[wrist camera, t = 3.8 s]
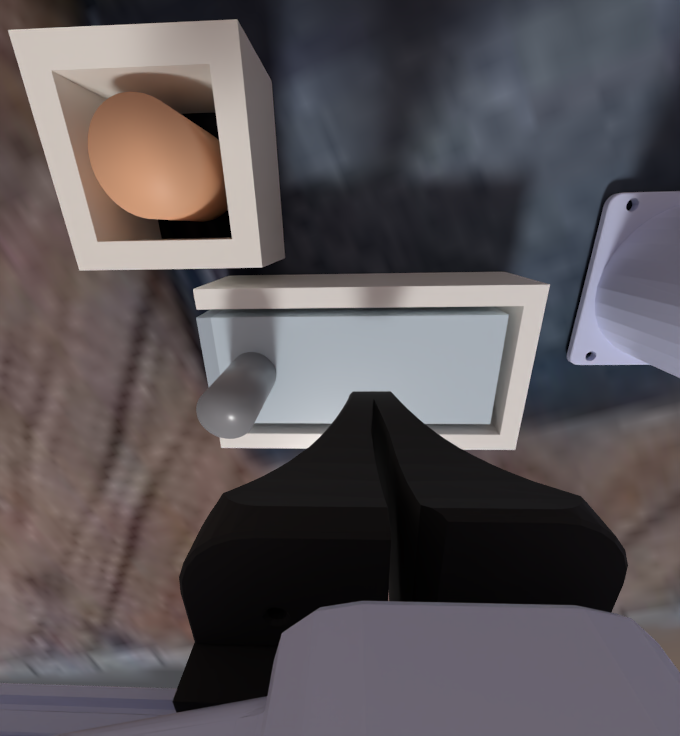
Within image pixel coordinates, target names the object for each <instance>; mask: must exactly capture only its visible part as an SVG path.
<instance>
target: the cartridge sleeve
mask: <svg viewBox="0 0 680 736" xmlns="http://www.w3.org/2000/svg"><path fill="white" fill-rule="evenodd" d="M549 286H550V284H546V283H543V282H539V281H536V280H532V279H529V278H525V277H521V276H518V275H514V274H511V273H507V272H441V273H372V274H304V275H235V276H227V277H224V278H222V279H219V280H216V281H214V282H211V283H208V284H206V285H203V286H200V287H197V288H195V289H193V292H194V298H195V303H196V309H290V308H386V307H482V306H494V307H496V308H497V309H499V310H501V311H503V312H505V313H506V314H508V315H509V317H508V323H507V329H506V335H505V341H504V347H503V352H502V358H501V364H500V370H499V376H498V382H497V387H496V393H495V399H494V405H493V411H492V417H491V422H490V424H426V425H427V426H428V427H429V428H431V429H432V430H433V431H435V432H436V433H437V434H439V435H440V436H442V437H443V438H444V439H446V440H448V441H449V442H451V443H452V444H454V445H456V446H457V447H459V448H460V449H462V450H515V448H516V443H517V439H518V434H519V429H520V424H521V420H522V415H523V410H524V405H525V401H526V396H527V391H528V386H529V382H530V377H531V372H532V367H533V363H534V358H535V353H536V348H537V344H538V339H539V334H540V329H541V324H542V320H543V315H544V310H545V305H546V301H547V296H548V291H549ZM330 425H331V424H327V423H254V425H253V427H252V428H251V430H250V431H249V432H248V433H247V434H245V435H244V436H242V437H239V438H234V439H225V438H221V437H220V443H221V448H308V447H310V446H311V445H312V444H313V443H314V442H315V441H316V440H317V439H318V438H319V437H320V436H321V435H322V434H323V433H324V432H325V431H326V430H327V428H328V427H329V426H330Z"/></svg>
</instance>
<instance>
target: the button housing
mask: <svg viewBox="0 0 680 736" xmlns="http://www.w3.org/2000/svg"><path fill="white" fill-rule="evenodd" d="M8 32H9V35H10V38H11V42H12V45H13V48H14V52H15V55H16V59H17V62H18V65H19V69H20V72H21V75H22V79H23V82H24V85H25V89H26V92H27V96H28V99H29V102H30V106H31V109H32V112H33V116H34V119H35V122H36V126H37V129H38V133H39V136H40V139H41V143H42V146H43V149H44V153H45V156H46V159H47V163H48V166H49V170H50V173H51V176H52V180H53V183H54V186H55V190H56V193H57V196H58V200H59V203H60V207H61V210H62V213H63V217H64V220H65V223H66V227H67V230H68V233H69V237H70V240H71V244H72V247H73V250H74V254H75V257H76V260H77V264H78V267H79V270H140V269H204V268H263V267H265V266H267V265H270V264H272V263H275V262H277V261H279V260H282V259H284V258H285V250H284V236H283V223H282V210H281V197H280V184H279V170H278V157H277V144H276V131H275V118H274V104H273V91H272V81H271V79H270V77H269V75H268V74H267V72H266V70H265V68H264V66H263V65H262V63H261V61H260V59H259V57H258V56H257V54H256V52H255V50H254V48H253V47H252V45H251V43H250V41H249V39H248V38H247V36H246V34H245V32H244V30H243V29H242V27H241V25H240V23H239V21H238V20H237V19H233V20H212V21H190V22H169V23H147V24H126V25H105V26H83V27H62V28H40V29H19V30H8ZM122 92H140V93H145V94H147V95H150V96H153V97H155V98H157V99H158V100H160V101H162V102H163V103H165V104H166V105H168V106H169V107H171V108H172V109H174V110H175V111H177V112H178V113H180V114H186V113H214V112H216V119H217V127H218V135H219V142H220V150H221V158H222V166H223V173H224V181H225V189H226V196H227V204H228V212H229V220H230V227H231V235H232V237H219V238H168V239H162V238H161V233H160V228H159V223H158V219H146V218H142V217H139V216H136V215H133V214H131V213H129V212H127V211H126V210H124V209H123V208H121V207H120V206H119V205H117V204H116V203H115V202H114V201H113V200H112V199H111V198H110V197H109V196H108V195H107V193H106V192H105V191H104V190H103V188H102V187H101V185H100V184H99V182H98V180H97V178H96V176H95V174H94V171H93V169H92V166H91V163H90V158H89V154H88V131H89V126H90V123H91V120H92V118H93V115H94V113H95V112H96V110H97V109H98V107H99V106H100V105H101V104H102V103H103V102H104V101H105V100H107V99H108V98H110V97H111V96H113V95H115V94H119V93H122Z"/></svg>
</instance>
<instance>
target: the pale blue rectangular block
mask: <svg viewBox="0 0 680 736" xmlns="http://www.w3.org/2000/svg"><path fill="white" fill-rule="evenodd" d="M508 317H509V315H508V314H506V313H505V312H503V311H501V310H499V309H497V308H496V307H494V306H482V307H386V308H290V309H211V310H209V311H207V312H206V313H204V314H202V315H200V316H199V317H197V318H196V320H197V325H198V331H199V336H200V342H201V347H202V353H203V358H204V364H205V369H206V375H207V380H208V386H209V388H208V389H207V390H206V391H205V392H204V393H203V395H202V396H201V397H200V398H199V400H198V403H197V408H196V411H197V416H198V419H199V421H200V423H201V424H202V426H203V427H204V428H205V429H206V430H207V431H209V432H210V433H211V434H213V435H215V436H218V437H221V438H225V439H234V438H239V437H242V436H244V435H245V434H247V433H248V432H249V431H250V430H251V428H252V427H253V425H254V423H327V424H332V422H333V421H334V420H335V419H336V417H337V416H338V414H339V413H340V412H341V410H342V409H343V407H344V405H345V404H346V402H347V400H348V398H349V395H350V394H351V393H352V392H353V391H391V392H392V393H393V394H394V395H395V396H396V397H397V398H398V399H399V401H400V402H401V403H402V404H403V405H404V406H405V407H406V408H407V409H408V410H409V411H411V412H412V413H413V414H414V415H415V416H416V417H417V418H418V419H420V420H421V421H422V422H423V423H424V424H490V422H491V417H492V411H493V405H494V399H495V393H496V387H497V382H498V376H499V370H500V364H501V358H502V352H503V347H504V341H505V335H506V329H507V323H508Z"/></svg>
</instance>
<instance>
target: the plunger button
mask: <svg viewBox="0 0 680 736" xmlns="http://www.w3.org/2000/svg"><path fill="white" fill-rule="evenodd" d="M88 154H89V158H90V163H91V166H92V169H93V171H94V174H95V176H96V178H97V180H98V182H99V184H100V185H101V187H102V188H103V190H104V191H105V192H106V193H107V195H108V196H109V197H110V198H111V199H112V200H113V201H114V202H115V203H116V204H117V205H119V206H120V207H121V208H123V209H124V210H126V211H127V212H129V213H131V214H133V215H136V216H139V217H142V218H146V219H160V220H180V221H200V222H204V221H210V220H214V219H216V218H218V217H220V216H221V215H222V214H224V213H225V212H226V211H227V210H228V204H227V196H226V189H225V181H224V173H223V166H222V158H221V150H220V142H219V140H218V139H217V138H216V137H214V136H213V135H211V134H210V133H208V132H207V131H205V130H204V129H202V128H201V127H199V126H198V125H196V124H195V123H193V122H192V121H190V120H189V119H187V118H186V117H184V116H183V115H181V114H180V113H178V112H177V111H175V110H174V109H172V108H171V107H169V106H168V105H166V104H165V103H163V102H162V101H160V100H158V99H157V98H155V97H153V96H150V95H147V94H145V93H140V92H122V93H119V94H115V95H113V96H111V97H110V98H108V99H107V100H105V101H104V102H103V103H102V104H101V105H100V106H99V107H98V109H97V110H96V112H95V113H94V115H93V118H92V120H91V123H90V126H89V131H88Z"/></svg>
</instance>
